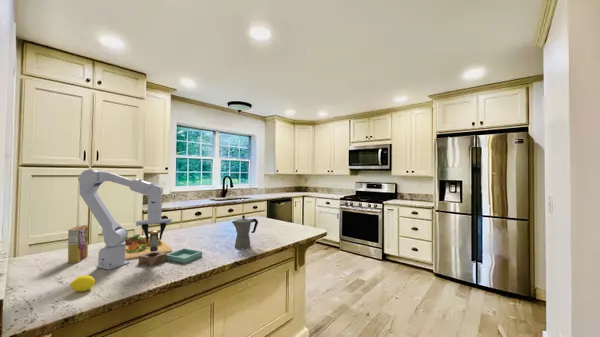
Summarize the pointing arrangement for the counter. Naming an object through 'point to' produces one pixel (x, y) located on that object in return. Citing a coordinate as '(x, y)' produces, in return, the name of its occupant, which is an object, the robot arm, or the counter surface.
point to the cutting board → (142, 247)
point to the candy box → (77, 243)
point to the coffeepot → (243, 232)
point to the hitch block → (152, 258)
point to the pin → (153, 240)
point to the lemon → (82, 283)
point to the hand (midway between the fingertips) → (154, 239)
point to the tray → (184, 255)
